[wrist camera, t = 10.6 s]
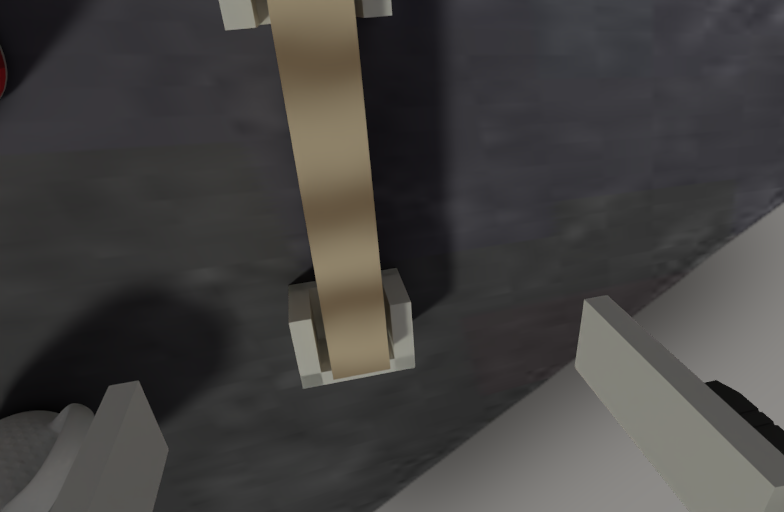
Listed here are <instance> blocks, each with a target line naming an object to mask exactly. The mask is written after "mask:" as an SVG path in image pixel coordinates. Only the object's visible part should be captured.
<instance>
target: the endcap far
mask: <svg viewBox="0 0 784 512" xmlns="http://www.w3.org/2000/svg"><path fill="white" fill-rule="evenodd" d="M381 278H382V288H383V298H384V308H385V318H386V329H387V339H388V349H389V359H390V369H388V370H382V371H377V372H372V373H367V374H361V375H356V376H351V377H346V378H340V379H335V380H333V374H332V369H331V363H330V357H329V352H328V346H327V340H326V335H325V329H324V323H323V317H322V312H321V306H320V300H319V295H318V289H317V283H316V281H312V282H306V283H300V284H294V285H289V326H290V331H291V335H292V340H293V345H294V349H295V354H296V358H297V363H298V368H299V372H300V377H301V382H302V386H303V389H305V388H310V387H315V386H320V385H326V384H331V383H336V382H341V381H347V380H352V379H357V378H362V377H367V376H373V375H378V374H383V373H388V372H394V371H399V370H404V369H409V368H415V357H414V341H413V326H412V311H411V301H410V298H409V296H408V294H407V291H406V289H405V287H404V284H403V282H402V279H401V277H400V275H399V272H398V270H397V268H393V269H386V270H381Z"/></svg>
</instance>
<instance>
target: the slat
mask: <svg viewBox="0 0 784 512" xmlns="http://www.w3.org/2000/svg"><path fill="white" fill-rule="evenodd" d="M267 4H268V10H269V15H270V21H271V27H272V33H273V38H274V44H275V50H276V55H277V61H278V67H279V72H280V78H281V84H282V90H283V95H284V101H285V107H286V112H287V118H288V124H289V129H290V135H291V141H292V147H293V152H294V158H295V164H296V169H297V175H298V181H299V186H300V192H301V198H302V203H303V209H304V215H305V221H306V226H307V232H308V238H309V243H310V249H311V255H312V260H313V266H314V272H315V278H316V283H317V289H318V295H319V300H320V306H321V312H322V317H323V323H324V329H325V335H326V340H327V346H328V352H329V357H330V363H331V369H332V374H333V380H335V379H340V378H346V377H351V376H356V375H361V374H367V373H372V372H377V371H382V370H388V369H390V359H389V349H388V339H387V329H386V318H385V308H384V298H383V288H382V278H381V268H380V258H379V248H378V237H377V227H376V217H375V207H374V197H373V187H372V177H371V167H370V156H369V146H368V136H367V126H366V116H365V106H364V96H363V86H362V75H361V65H360V55H359V45H358V35H357V25H356V15H355V5H354V0H267Z"/></svg>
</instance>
